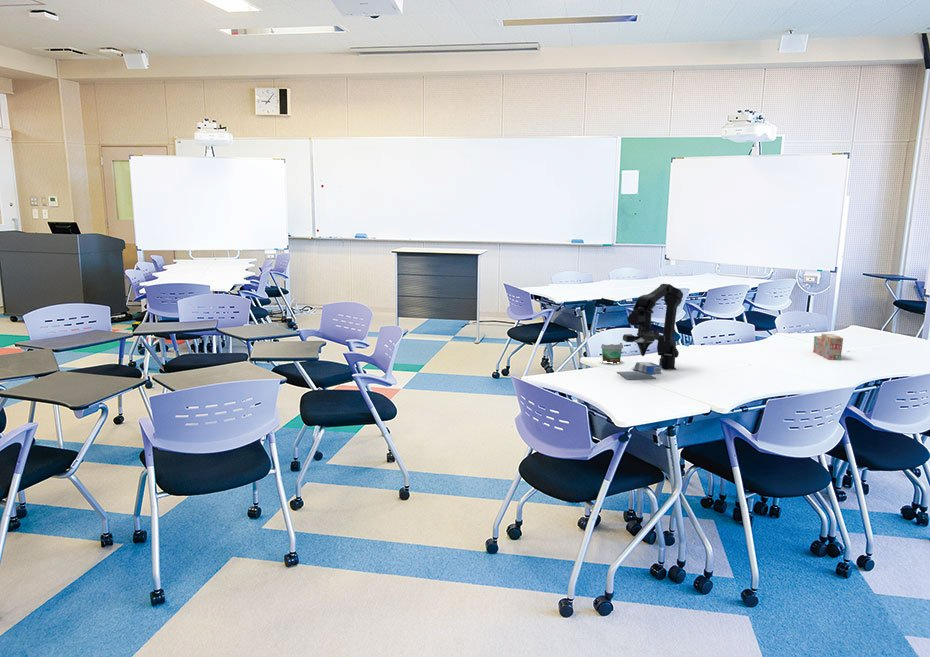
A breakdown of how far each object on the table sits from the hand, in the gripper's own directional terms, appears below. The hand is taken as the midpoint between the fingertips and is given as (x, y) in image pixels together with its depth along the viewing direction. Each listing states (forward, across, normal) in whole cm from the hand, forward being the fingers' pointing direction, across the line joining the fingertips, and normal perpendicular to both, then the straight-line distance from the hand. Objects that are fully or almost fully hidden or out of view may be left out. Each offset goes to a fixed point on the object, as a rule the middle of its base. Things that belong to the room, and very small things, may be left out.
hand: (642, 355), depth 304 cm
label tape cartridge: (+7, +7, +2) cm, 11 cm away
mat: (+10, -3, 0) cm, 10 cm away
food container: (+10, -4, +27) cm, 29 cm away
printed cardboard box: (+10, +118, +34) cm, 123 cm away
